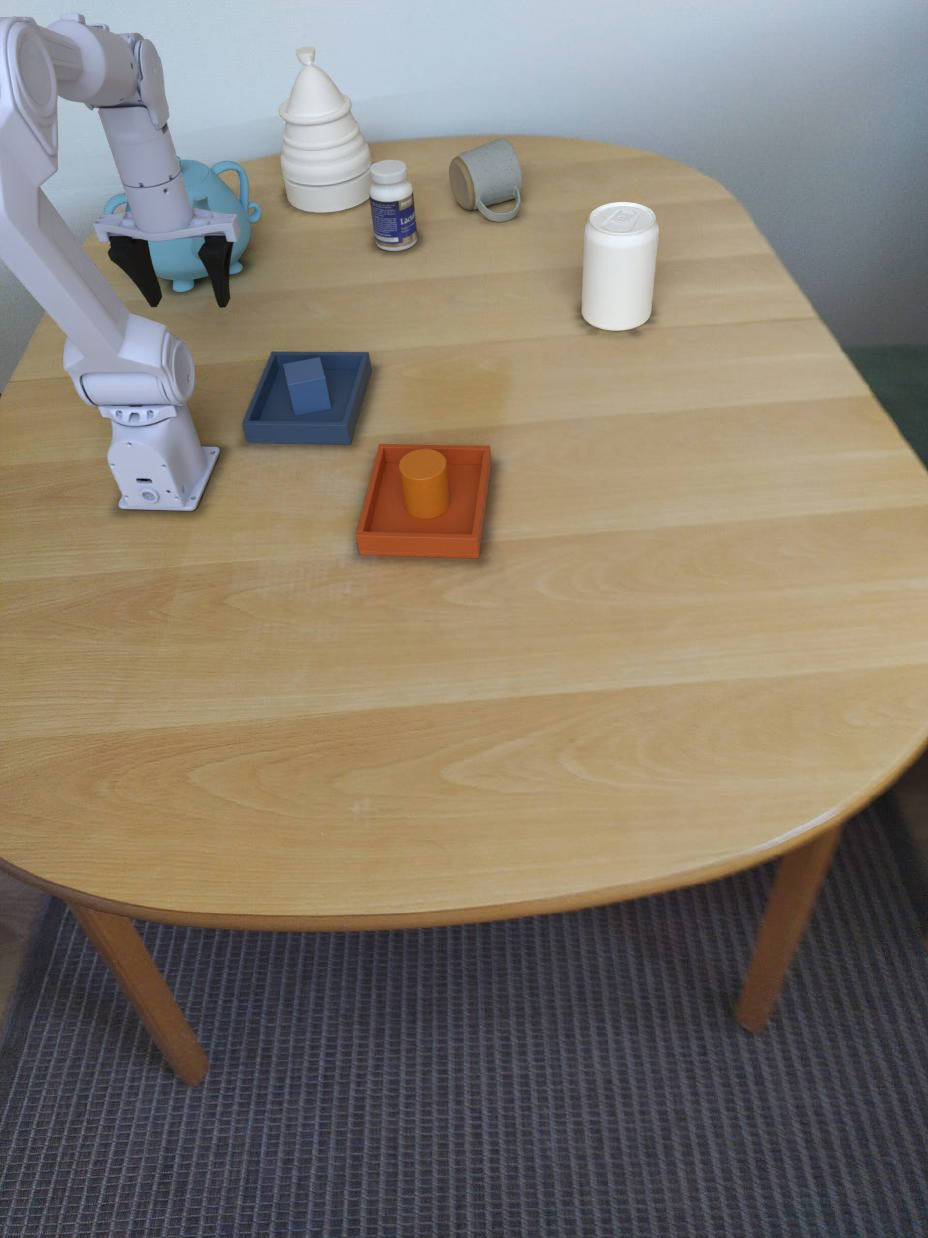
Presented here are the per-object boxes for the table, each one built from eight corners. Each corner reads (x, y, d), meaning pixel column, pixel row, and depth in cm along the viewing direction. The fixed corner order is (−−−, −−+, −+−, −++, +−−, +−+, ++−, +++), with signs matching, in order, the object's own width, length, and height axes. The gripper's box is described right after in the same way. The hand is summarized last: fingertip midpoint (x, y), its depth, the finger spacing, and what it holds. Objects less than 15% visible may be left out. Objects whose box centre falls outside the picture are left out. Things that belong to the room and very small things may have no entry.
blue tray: (350, 444, 99) (347, 425, 97) (247, 442, 100) (241, 423, 98) (371, 370, 107) (368, 351, 105) (276, 369, 108) (271, 351, 107)
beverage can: (570, 326, 110) (573, 227, 101) (597, 292, 115) (601, 194, 106) (635, 341, 108) (644, 240, 99) (660, 305, 112) (671, 206, 103)
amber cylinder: (447, 520, 89) (443, 479, 86) (401, 518, 90) (395, 478, 86) (452, 489, 92) (448, 448, 88) (408, 488, 93) (402, 448, 89)
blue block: (331, 408, 102) (325, 377, 99) (295, 416, 102) (287, 384, 99) (326, 387, 105) (319, 356, 102) (290, 394, 104) (283, 363, 101)
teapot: (232, 307, 118) (202, 195, 107) (99, 290, 123) (57, 182, 112) (287, 243, 128) (264, 136, 117) (162, 230, 133) (129, 125, 122)
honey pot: (280, 181, 141) (252, 47, 127) (363, 165, 142) (344, 31, 129) (296, 219, 132) (267, 80, 119) (384, 201, 134) (366, 62, 121)
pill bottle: (412, 253, 124) (404, 177, 116) (370, 251, 125) (359, 176, 117) (422, 232, 128) (415, 157, 120) (381, 230, 129) (372, 155, 121)
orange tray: (479, 558, 87) (477, 539, 85) (359, 554, 88) (355, 535, 86) (491, 465, 95) (490, 445, 93) (382, 462, 96) (378, 443, 94)
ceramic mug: (447, 200, 133) (443, 144, 127) (497, 184, 135) (496, 128, 129) (483, 231, 127) (481, 174, 121) (536, 214, 129) (536, 157, 123)
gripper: (234, 154, 92) (265, 282, 103) (94, 156, 94) (138, 282, 105) (214, 188, 88) (248, 318, 98) (67, 189, 90) (116, 317, 100)
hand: (190, 302), depth 101 cm, fingers open, 7 cm apart
